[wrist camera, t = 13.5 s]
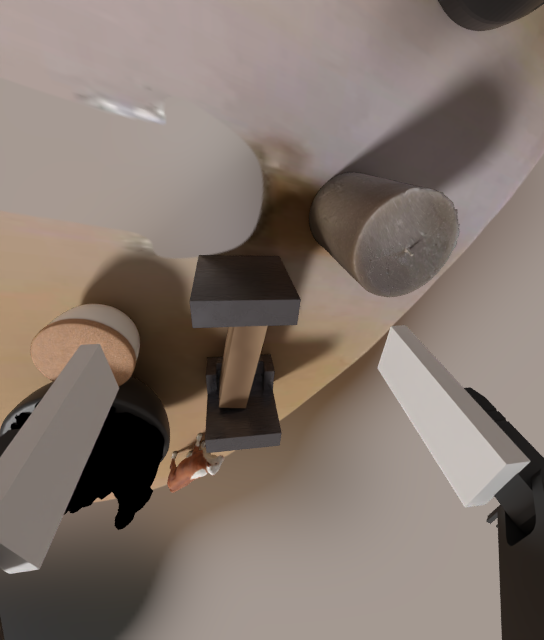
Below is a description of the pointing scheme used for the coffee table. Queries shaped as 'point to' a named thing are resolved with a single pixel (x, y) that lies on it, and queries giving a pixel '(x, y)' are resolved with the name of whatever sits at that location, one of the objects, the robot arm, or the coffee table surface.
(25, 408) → the dark grey bowl
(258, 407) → the grey stand
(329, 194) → the pillar candle
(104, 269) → the coffee table surface
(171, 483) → the bull figurine
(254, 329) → the rail
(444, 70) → the coffee table surface
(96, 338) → the lidded jar
